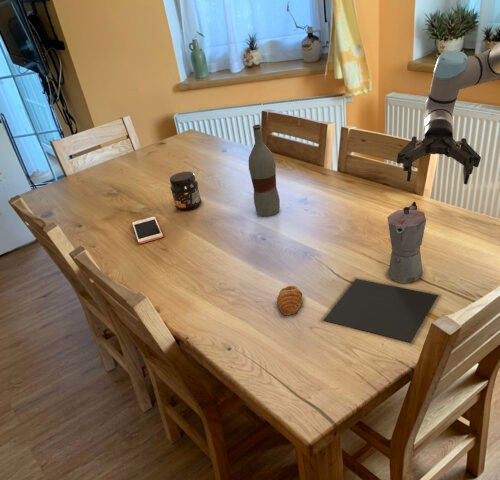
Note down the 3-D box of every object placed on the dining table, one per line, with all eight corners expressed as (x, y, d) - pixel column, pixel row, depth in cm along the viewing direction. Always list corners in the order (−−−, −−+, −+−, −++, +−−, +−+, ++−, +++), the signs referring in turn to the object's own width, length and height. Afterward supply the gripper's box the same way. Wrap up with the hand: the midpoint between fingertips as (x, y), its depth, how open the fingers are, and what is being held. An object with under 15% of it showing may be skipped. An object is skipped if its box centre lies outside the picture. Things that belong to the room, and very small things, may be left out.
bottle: (284, 213, 175) (274, 126, 157) (259, 220, 174) (246, 132, 156) (276, 204, 182) (266, 119, 164) (252, 210, 181) (239, 125, 163)
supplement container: (170, 208, 194) (162, 178, 186) (191, 198, 199) (184, 168, 191) (186, 214, 187) (178, 183, 180) (207, 203, 192) (201, 173, 185)
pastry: (303, 315, 127) (301, 303, 124) (276, 318, 128) (275, 306, 125) (302, 295, 134) (301, 283, 132) (277, 297, 135) (276, 285, 133)
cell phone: (155, 218, 188) (154, 216, 188) (163, 237, 174) (162, 235, 174) (132, 224, 187) (131, 222, 186) (138, 244, 173) (138, 241, 172)
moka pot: (380, 287, 132) (381, 217, 119) (393, 257, 142) (395, 191, 130) (417, 291, 128) (422, 220, 115) (428, 260, 138) (433, 192, 126)
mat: (437, 295, 125) (437, 295, 125) (410, 342, 113) (410, 342, 113) (356, 279, 136) (356, 278, 136) (323, 320, 124) (323, 319, 124)
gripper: (483, 145, 135) (487, 193, 123) (389, 142, 141) (384, 188, 129) (490, 119, 130) (496, 167, 117) (392, 117, 135) (387, 162, 123)
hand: (437, 178), depth 123 cm, fingers open, 13 cm apart
